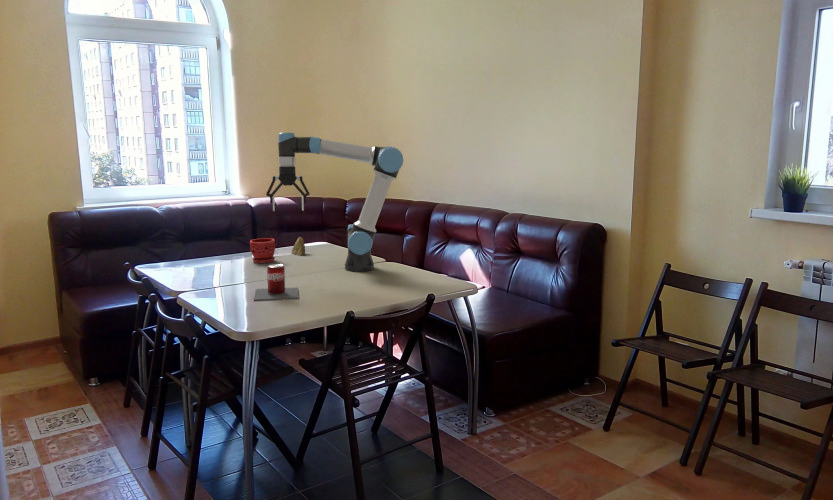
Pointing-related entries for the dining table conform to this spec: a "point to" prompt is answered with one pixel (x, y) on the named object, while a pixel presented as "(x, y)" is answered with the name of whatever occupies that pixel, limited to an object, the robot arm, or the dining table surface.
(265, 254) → the plant pot
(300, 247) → the rock
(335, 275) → the dining table surface
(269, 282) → the soda can
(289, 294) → the mat
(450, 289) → the dining table surface
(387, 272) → the dining table surface
